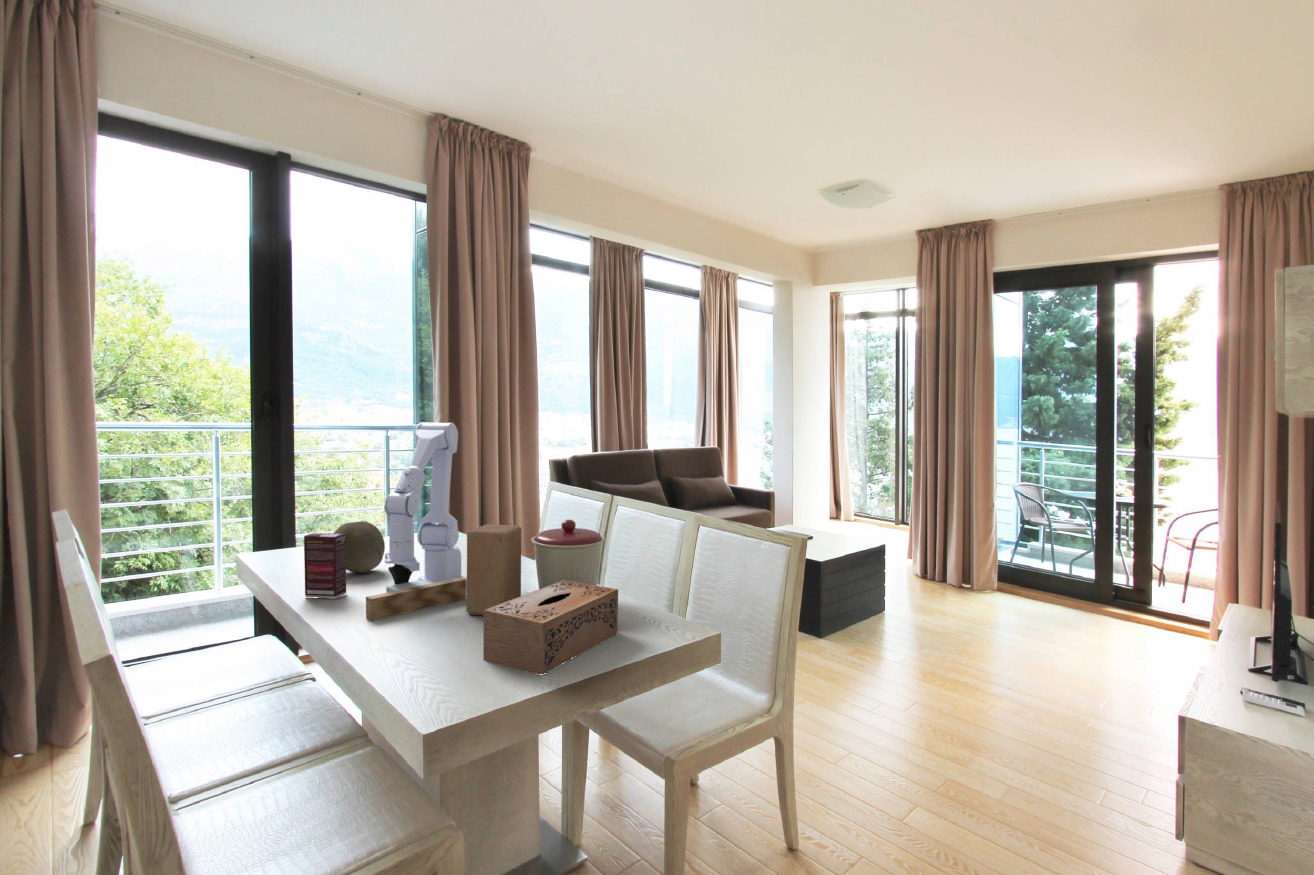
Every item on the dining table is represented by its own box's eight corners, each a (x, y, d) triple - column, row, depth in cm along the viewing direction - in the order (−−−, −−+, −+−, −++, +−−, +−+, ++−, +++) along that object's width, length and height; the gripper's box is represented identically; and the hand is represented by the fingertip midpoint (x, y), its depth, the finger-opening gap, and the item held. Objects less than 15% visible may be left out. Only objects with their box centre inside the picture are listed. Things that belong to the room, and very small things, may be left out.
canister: (516, 602, 161) (517, 518, 160) (574, 588, 173) (575, 511, 172) (559, 620, 148) (560, 529, 147) (618, 604, 160) (620, 520, 159)
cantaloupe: (376, 564, 195) (375, 515, 195) (390, 574, 184) (390, 522, 184) (325, 571, 186) (324, 520, 186) (337, 582, 175) (337, 528, 175)
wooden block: (504, 618, 148) (505, 532, 147) (464, 615, 150) (465, 530, 149) (522, 605, 158) (522, 525, 157) (484, 602, 160) (485, 523, 159)
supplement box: (347, 594, 165) (347, 533, 164) (336, 600, 160) (335, 536, 159) (315, 592, 166) (315, 531, 165) (303, 598, 161) (302, 535, 160)
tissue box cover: (564, 622, 147) (564, 579, 147) (617, 634, 140) (618, 589, 140) (483, 661, 124) (483, 610, 124) (542, 677, 118) (542, 623, 117)
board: (460, 596, 164) (460, 577, 164) (465, 598, 163) (466, 579, 162) (366, 618, 147) (365, 596, 147) (370, 621, 145) (370, 599, 145)
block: (421, 596, 164) (421, 579, 164) (434, 603, 159) (434, 585, 159) (386, 604, 157) (386, 586, 157) (399, 611, 153) (399, 592, 152)
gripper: (372, 537, 162) (373, 591, 163) (399, 547, 152) (399, 604, 153) (400, 534, 167) (400, 585, 168) (427, 543, 157) (427, 598, 158)
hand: (401, 594), depth 161 cm, fingers closed, pressing on block
